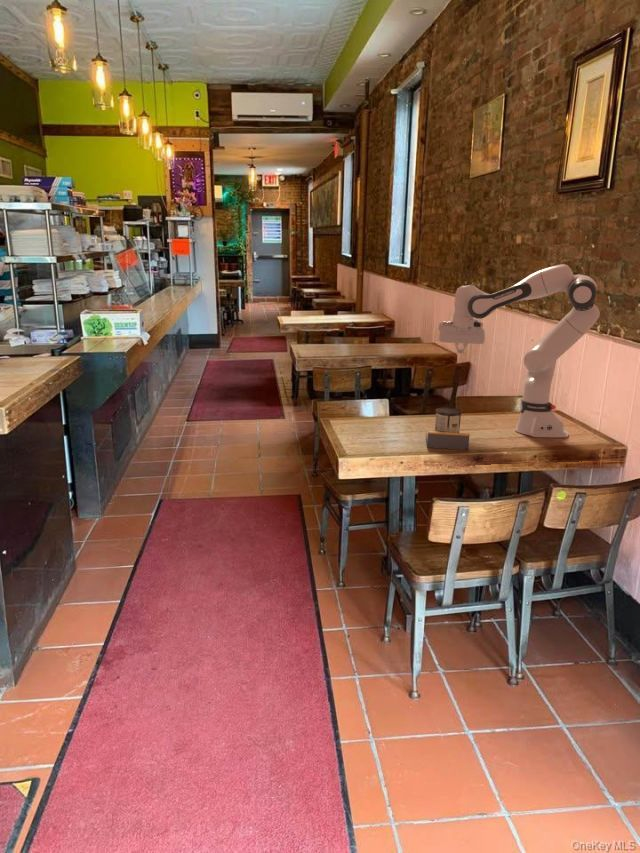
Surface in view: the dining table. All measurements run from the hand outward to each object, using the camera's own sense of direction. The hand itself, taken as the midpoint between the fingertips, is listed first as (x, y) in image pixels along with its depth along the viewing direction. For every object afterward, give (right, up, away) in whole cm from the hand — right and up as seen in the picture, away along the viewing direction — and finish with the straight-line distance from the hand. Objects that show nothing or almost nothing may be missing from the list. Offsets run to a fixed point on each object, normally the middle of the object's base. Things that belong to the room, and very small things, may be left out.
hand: (460, 353), depth 282 cm
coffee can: (-11, -40, -21) cm, 46 cm away
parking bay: (-11, -40, -22) cm, 47 cm away
